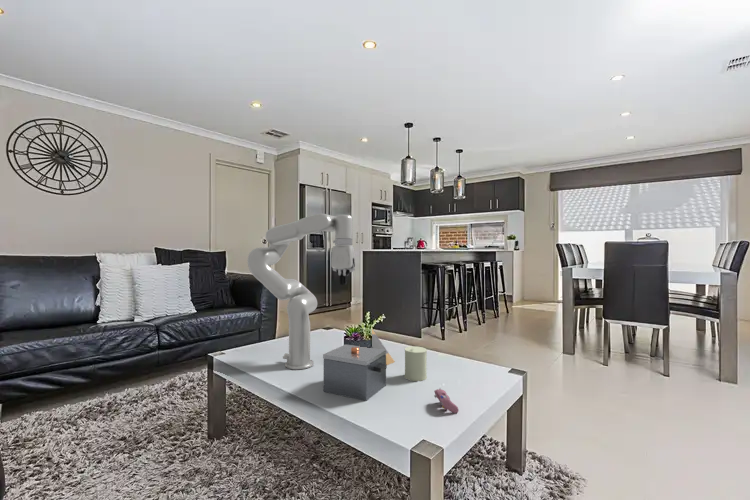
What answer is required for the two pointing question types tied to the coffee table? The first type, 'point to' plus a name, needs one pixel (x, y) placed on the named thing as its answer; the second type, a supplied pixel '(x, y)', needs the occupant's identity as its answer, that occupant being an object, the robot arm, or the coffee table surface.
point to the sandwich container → (380, 347)
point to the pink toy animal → (445, 401)
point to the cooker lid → (354, 354)
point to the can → (415, 363)
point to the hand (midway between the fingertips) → (343, 284)
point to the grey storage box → (354, 378)
